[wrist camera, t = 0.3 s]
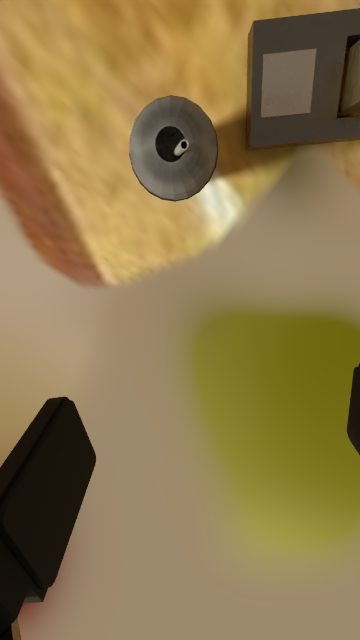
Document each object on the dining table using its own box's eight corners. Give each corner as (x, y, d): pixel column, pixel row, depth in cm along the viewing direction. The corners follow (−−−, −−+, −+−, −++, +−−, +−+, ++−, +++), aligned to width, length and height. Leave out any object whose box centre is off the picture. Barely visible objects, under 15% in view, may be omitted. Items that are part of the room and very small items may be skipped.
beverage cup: (169, 114, 30) (142, -6, 12) (221, 157, 32) (264, 106, 14) (136, 175, 33) (73, 150, 15) (185, 211, 35) (182, 229, 16)
